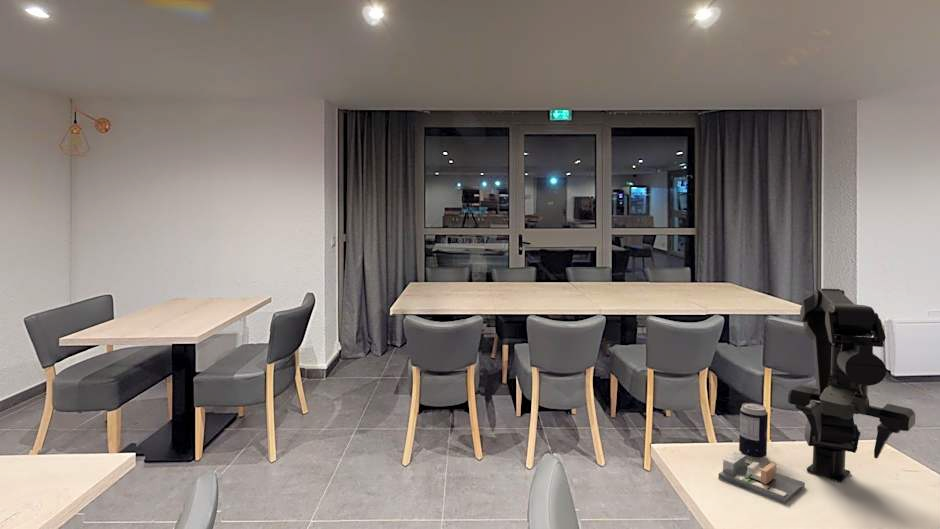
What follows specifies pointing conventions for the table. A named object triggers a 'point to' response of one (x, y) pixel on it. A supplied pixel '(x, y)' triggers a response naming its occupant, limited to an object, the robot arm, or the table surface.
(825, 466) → the robot arm
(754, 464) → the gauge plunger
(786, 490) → the frame
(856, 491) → the table surface
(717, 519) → the table surface
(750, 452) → the beverage can
